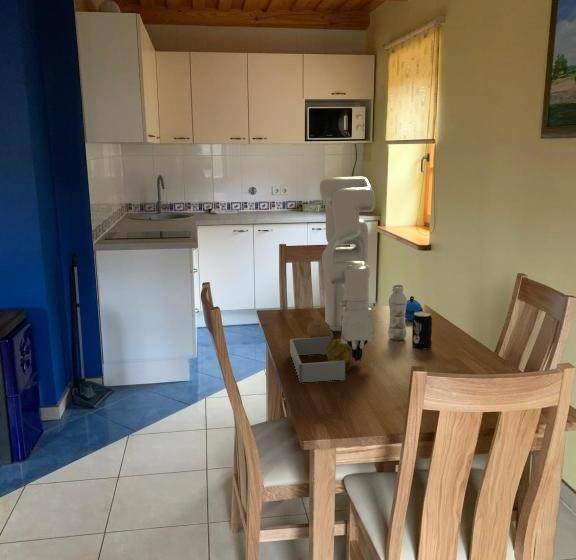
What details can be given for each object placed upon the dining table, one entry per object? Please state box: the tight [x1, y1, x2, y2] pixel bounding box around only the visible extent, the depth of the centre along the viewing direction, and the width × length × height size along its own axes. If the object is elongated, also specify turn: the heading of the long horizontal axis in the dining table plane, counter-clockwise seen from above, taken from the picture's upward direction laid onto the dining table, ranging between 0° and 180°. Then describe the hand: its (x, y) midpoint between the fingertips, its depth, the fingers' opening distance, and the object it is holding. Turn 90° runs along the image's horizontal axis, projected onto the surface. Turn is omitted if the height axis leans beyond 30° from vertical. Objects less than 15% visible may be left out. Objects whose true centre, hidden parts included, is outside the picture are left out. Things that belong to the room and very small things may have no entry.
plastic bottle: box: [387, 284, 408, 341], centre depth 202 cm, size 6×7×20 cm
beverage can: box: [411, 310, 433, 350], centre depth 194 cm, size 7×7×12 cm
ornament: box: [405, 295, 424, 322], centre depth 225 cm, size 9×9×10 cm
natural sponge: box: [306, 318, 334, 341], centre depth 199 cm, size 9×9×10 cm
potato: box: [325, 338, 352, 371], centre depth 179 cm, size 8×13×8 cm, turn 171°
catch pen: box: [289, 336, 346, 383], centre depth 179 cm, size 24×14×6 cm, turn 7°
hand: (357, 359), depth 180 cm, fingers closed
